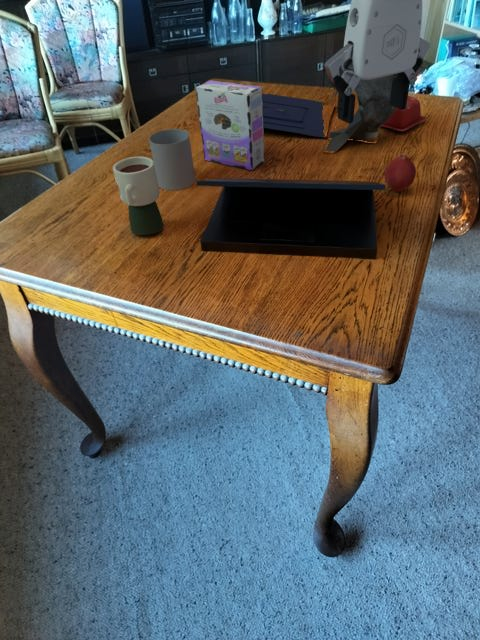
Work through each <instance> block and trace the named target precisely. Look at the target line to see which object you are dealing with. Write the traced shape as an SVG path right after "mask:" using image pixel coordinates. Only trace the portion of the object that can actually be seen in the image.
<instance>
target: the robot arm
mask: <svg viewBox="0 0 480 640" xmlns="http://www.w3.org/2000/svg"><path fill="white" fill-rule="evenodd" d="M422 21H423V0H351V1H350V5H349V11H348V15H347V20H346V27H345V31H344V32H345V34H344V38H343V39H344V40H343V47H342V48H340V49H339V50H338V51H337V52H336V53H334V54H333V56H331V57H330V58H329V59H328V60H326V61H325V63H324V69H325V72H326V75H327V77H328V81H329V83H330V84H331V85H332V86H333V88H334V90H335V92H336V91H338V93H337V105H336V107H337V108H336V114H337V119H339V120H341V121H342V122H344V123H346V124H348V125H349V123H352V122H353V119H354V115H355V107H356V99H357V95H356V94H355V93H354V91H355V88H356V86H357V85H358V83H359V82H360V80H361V79H363V80H370V79H375V78H379V77H384V76H388V75H393V74H396V75H397V77H393V81H392V88H391V95H390V102H389V104H390V105H391V106H393V107H396V108H398V109H400V110H403V109H405V108H406V104H407V98H408V96H409V92H410V85H411V82H412V81H414V80H415V78H416V73H417V72H418V71H419V69H420V68H421V66H422V65H423V63H424V59H425V57H426V55H427V53H428V51H429V49H430V47H431V43H430V42H429V41H427V40H425V39H424V38H422V37H421V31H422V23H423V22H422ZM342 64H343V70H342V74H340V69H341V67H340V66H341V65H342ZM343 71H344V72H343ZM351 76H352V78H351ZM350 78H351V79H350ZM349 79H350V81H349ZM348 81H349V82H348ZM347 82H348V84H347Z"/></svg>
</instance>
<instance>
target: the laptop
mask: <svg viewBox="0 0 480 640" xmlns="http://www.w3.org/2000/svg"><path fill="white" fill-rule="evenodd" d="M374 191H375V190H344V189H302V188H261V187H222V189H221V191H220V194H219V195H218V199H217V201H216V203H215V206H214V209H213V210H212V213H211V214H210V217H209V220H208V222H207V225H206V227H205V230H204V233H203V234H202V236H201V238H200V248H201V251H202V252H222V253H224V252H225V253H243V254H260V255H261V254H263V255H285V256H305V257H322V258H323V257H324V258H327V257H328V258H343V259H345V258H347V259H366V260H368V259H369V260H376V259H377V255H378V250H379V249H378V237H377V236H378V235H377V221H376V220H377V219H376V208H375V207H376V206H375V192H374Z"/></svg>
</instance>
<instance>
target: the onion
mask: <svg viewBox="0 0 480 640" xmlns="http://www.w3.org/2000/svg"><path fill="white" fill-rule="evenodd" d="M416 177H417V169H416V166H415V164H414V161H412V159H410V158H409V156H407V154H406V153H405V152H402V153H401V154H400V155H399V156H397V157H395V158H394V159H392V160H391V161H390V162H389V163H388V165H387V166H386V168H385V171H384V181H385V183H386V186H388V187H389V188H390V189H392V191H393V192H395V193H400V192H402V191H404V190H406V189H408V188H409V187H410V186H412V184H414V181H415V179H416Z"/></svg>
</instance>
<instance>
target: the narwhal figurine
mask: <svg viewBox="0 0 480 640" xmlns="http://www.w3.org/2000/svg"><path fill="white" fill-rule="evenodd" d="M340 69H341V70H342V73H343V72H344V71H343V64H342V65H341V66H340ZM393 77H397V75H396V74H393V75H388V76H384V77H379V78H375V79H370V80H363V79H361V80H360V82H359V83H358V85H357V86H356V88H355V89H354V91H355V95H356V99H357V102H358V103H357V104H358V108H357V110H356V112H354V119H353V122H352V123H349V124H348V125H347V127H345V128H341V129H338V130H334V131H330V132H329V138H332V139H331V140H330V142H329V144H328V146H327V148H326V150H327V151H334V152H335V153H337V152H338V150H340V149H341V148H342V146H344V144H346V142H347V140H348V139H353V140H363V141H367V142H375V141H377V140H378V141H379V135H378V134H379V131H380V128H381V127H380V126H381V125H383V124H384V123H385V122H386V121H387V120H388V119H389V117H390V116H391V115H392V114H393V111H394V110H395V108H396V107H393V106H391V105H390V104H389V102H390V95H391V88H392V81H393ZM351 78H352V76H351ZM351 78H350V79H351ZM350 79H349V81H350ZM349 81H348V82H349ZM348 82H347V84H348ZM336 95H338V91H336V90H335V92H334V94H333V95H332V97H335V96H336ZM378 141H377V142H378ZM326 150H325V151H326Z"/></svg>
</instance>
